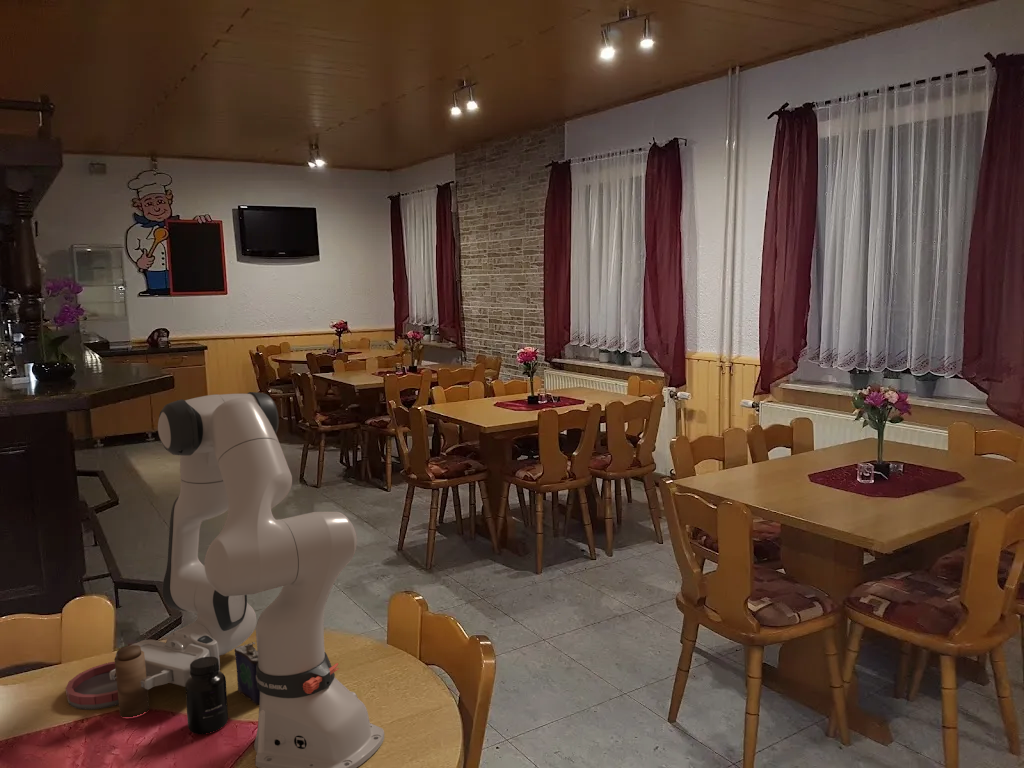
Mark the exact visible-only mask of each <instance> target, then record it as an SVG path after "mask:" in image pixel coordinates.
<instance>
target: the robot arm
mask: <svg viewBox="0 0 1024 768" xmlns="http://www.w3.org/2000/svg"><path fill="white" fill-rule="evenodd" d="M277 408H278V407H277V404H276V403H275V400H274V399H273V398H272V397H270V395H268V394H267V393H264V392H258V391H257V392H256V391H249V392H247V393H223V394H222V393H221V394H217V393H216V394H208V395H203V396H197V397H194V398H193V397H192V398H190V399H185V400H184V399H183V398H182V399H179V400H175V401H171V402H169V403H167V404H165V405H164V406H163V408H162V409H161V411H159V415H158V422H157V433H158V437H159V439H160V441H161V443H162V445H163V448H164V449H165V450H166V451H167V452H168V453H170V454H171V455H174V456H180V457H179V458H180V459H179V470H180V471H179V473H180V476H179V478H180V492H179V496H177V497H176V499H175V500H174V502H173V504H172V507H171V513H170V520H169V532H168V533H169V535H168V548H167V562H166V563H167V564H166V570H165V575H164V577H163V581H162V587H161V588H162V589H161V590H162V591H161V593H162V597H163V600H164V601H165V604H166V605H167V606H168V607H169V608H170V609H173V610H178V611H183V612H190V613H193V614H197V615H196V620H194V622H191V623H189V624H188V625H185V626H184V627H182V628H181V627H180V628H179V629H177V630H175V631H173V632H171V633H170V634H169V635H168V636H167V639H166V642H164V641H160V640H156V639H144V640H140V641H138V642H135V643H132V644H130V645H129V646H131V645H138V646H140V647H141V651H143V652H144V656H145V667H146V677H145V678H143V679H142V680H141V688H144V689H147V690H148V691H149V690H150V689H152V688H154V687H159V686H162V685H167V684H168V683H169V684H172V685H173V684H174V685H177V686H181V687H185V684H186V682H187V680H188V679H189V678H190V677H191V676H190V664H191V663H192V662H193V661H194V660H196V659H199V658H202V657H216V658H217V659H218V661H219V671H220V668H221V667H220V666H221V663H220V656H223V655H225V654H228V653H229V652H231V651H233V650H235V649H236V648H237V647H239V646H241V645H242V644H243V643H244V642H246V641H247V640H248V639H249V638H250V637H251V635H252V634H253V633H254V631H255V637H256V651H257V652H258V664H257V666H256V680H257V687H258V689H259V691H260V703H259V705H258V722H257V731H256V737H255V740H254V745H253V747H254V750H255V752H256V756H255V767H257V768H358V767H360V766H361V765H362V764H364V763H365V762H366V761H368V760H369V758H371V757H372V756H373V755H374V754H375V753H376V752H377V750H379V748H380V747H381V746H382V744H383V742H384V740H385V730H384V729H383V727H380V726H378V725H375V724H373V723H372V722H370V716H369V712H368V709H367V707H366V704H365V703H364V702H363V701H362V700H360V699H359V698H358V695H357V694H356V692H354V691H351V690H349V688H347V687H346V686H345V685H344V684H343V683H342V682H341V681H339V679H337V677H336V675H335V673H336V671H338V670H339V669H340V668H339V667H338V666H339V663H338V662H337V663H335V664H334V665H332V663H331V661H330V659H329V657H328V654H327V653H326V650H325V628H324V627H325V624H324V623H325V622H324V620H325V611H326V606H327V602H328V599H329V595H330V592H331V591H332V588H333V586H334V584H335V582H336V581H337V579H338V577H339V575H340V574H341V572H342V571H343V570H344V569H345V568H346V567H347V566H348V564H349V563H351V561H352V560H353V559H354V556H355V553H356V551H357V546H358V545H357V544H358V537H357V532H356V529H355V527H354V524H353V523H352V521H351V520H350V519H349V517H347V516H346V515H345V514H344V513H342V512H340V511H313V512H308V513H302V514H298V515H294V516H290V517H286V518H278V519H276V518H275V517H274V515H273V512H272V509H274V508H275V507H277V505H279V504H280V503H281V502H282V501H283V500H284V499H285V498H286V497H287V496H288V495H289V493H290V491H291V488H292V485H293V475H292V473H291V469H290V468H289V465H288V462H287V459H286V456H285V454H284V451H283V448H282V446H281V443H280V441H279V438H278V436H277V432H278V431H279V430H278V429H279V426H280V425H279V424H280V419H279V411H278V409H277ZM226 512H227V516H226V520H225V522H224V525H223V527H222V529H221V530H220V532H219V533H218V535H216V537H215V538H214V539H213V540H212V541H211V542H210V543H209V546H208V547H207V551H206V553H205V556H204V564H203V563H202V562H201V561H200V559H199V543H200V530H201V529H200V528H201V525H202V523H203V522H204V521H208V520H211V519H213V518H216V517H219V516H221V515H222V514H225V513H226ZM280 587H281V588H282V589H281V590H280V592H279V594H278V595H277V596H276V598H275V599H274V600H273V601H272V602H271V603H270V604H268V606H266V607H265V608H264V609H263V611H262V612H261V613H260V615H259V617H258V619H257V614H256V612H255V609H254V608H253V607H252V606H251V605H250V604H249V603H248V595H256V594H260V593H262V592H266V591H270V590H274V589H277V588H280ZM116 656H117V652H116V653H115V657H116ZM220 672H221V671H220ZM110 679H111V680H114V681H117V680H116V670H115V669H114V670H112V671H110Z"/></svg>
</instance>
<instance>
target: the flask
mask: <svg viewBox="0 0 1024 768" xmlns="http://www.w3.org/2000/svg"><path fill="white" fill-rule="evenodd" d="M255 644H256V642H253V641H252V642H251V643H248V644H246V643H245V644H243V645H239V646H237V647H236V648H234V657H235V666H236V677H237V678H236V680H237V681H236V682H237V692H238V693H239V694H240V695H243V696H244V698H245V699H247V700H250V701H249V702H252V703H253V704H254V705H255V706H259V703H260V691H259V689H258V687H257V680H256V666H257V664H258V652H257V648H255V647H254V645H255Z"/></svg>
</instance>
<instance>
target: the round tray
mask: <svg viewBox="0 0 1024 768" xmlns="http://www.w3.org/2000/svg"><path fill="white" fill-rule="evenodd" d="M114 669H115V661H110V662H105V663H103V664H99V665H96V666H93V667H90V668H89V669H86V670H84V671H82V672H80V673H78V674H77V675H75V676H74V677H73V678H71V679H70V680H69V681H68V683H67V685H66V687H65V695H66V697H67V704H68V705H69V706H70V707H72V708H75V709H79V710H87V711H88V710H89V711H90V710H101V709H106V708H111V707H115V706H119V700H118V690H117V681H114V680H111V679H110V671H112V670H114Z"/></svg>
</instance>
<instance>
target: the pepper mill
mask: <svg viewBox="0 0 1024 768" xmlns="http://www.w3.org/2000/svg"><path fill="white" fill-rule="evenodd" d="M130 645H131V646H130ZM130 645H127V646H123V647H121V648H119V649H118V650H117V651H116V653H117V656H116V655H115V657H114V659H113V660H114V662H115V670H116V680H117V690H118V700H119V704H118V707H119V708H118V711H119V717H120V716H122V717H133V716H137V715H140V714H143V713H144V712H147V711H148V710H149V711H150V700H149V689H148V690H147V689H144V688H141V680H142V679H143V678H145V677H146V667H145V656H144V652H143V651H141V647H140V646H138V645H132V644H130ZM149 711H148V712H149ZM148 712H147V713H148Z"/></svg>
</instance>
